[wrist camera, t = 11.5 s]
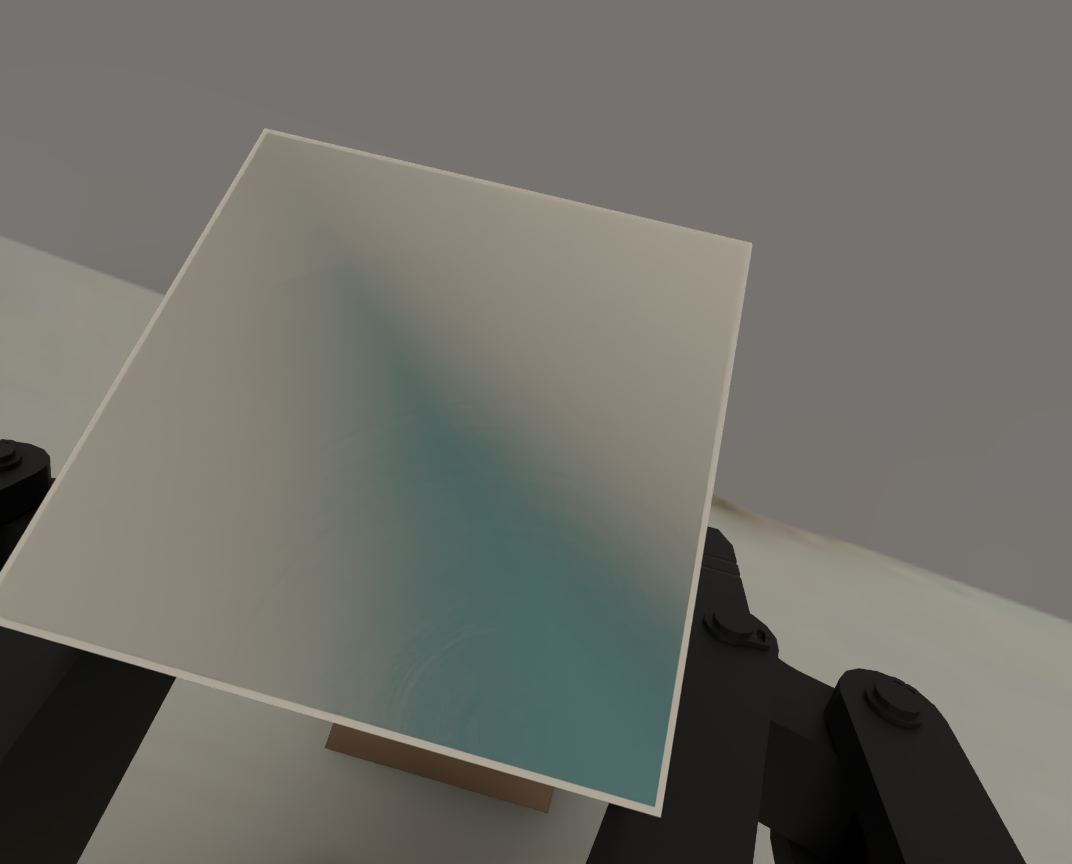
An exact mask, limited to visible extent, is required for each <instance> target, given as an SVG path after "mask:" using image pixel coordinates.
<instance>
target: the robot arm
mask: <svg viewBox="0 0 1072 864" xmlns="http://www.w3.org/2000/svg"><path fill="white" fill-rule="evenodd" d="M55 480H56V478H51V467H50V456H49V455H48V454H47V453H46V451H45V450H44V449H42V448H39V447H37V446H34V445H32V444H28V443H21V442H15V441H14V440H5V439H1V440H0V572H1V571H2V569H3V567H4V566H5V564H6V562H7V561H8V559H9V557H10V555H11V554H12V552H13V550H14V549H15V547H16V545H17V544H18V542H19V540H20V539H21V537H22V535H23V534H24V532H25V530H26V529H27V527H28V525H29V524H30V522H31V520H32V519H33V517H34V515H35V513H36V512H37V510H38V508H39V507H40V505H41V503H42V502H43V500H44V498H45V497H46V495H47V493H48V492H49V490H50V488H51V487H52V485H53V483H54V482H55ZM736 563H737V561H736V557H735V553H734V549H733V546H732V544H731V543H730V542H729V541H728V540H727V539H726V538H725V536H724V535H723V534H722V533H721V532H720V531H719V530H718V529H715V528H711V527H708V526H707V532H706V538H705V544H704V550H703V557H702V563H701V569H700V575H699V582H698V588H697V594H696V600H695V607H694V613H693V619H692V625H691V632H690V638H689V644H688V650H687V657H686V663H685V669H684V675H683V682H682V688H681V694H680V700H679V707H678V713H677V719H676V725H675V732H674V738H673V744H672V750H671V757H670V763H669V769H668V775H667V782H666V788H665V794H664V800H663V807H662V813H661V817H657V816H654V815H650V814H647V813H643V812H640V811H636V810H633V809H630V808H626V807H623V806H619V805H616V804H612V803H609V805H608V808H607V810H606V813H605V815H604V818H603V821H602V823H601V826H600V828H599V831H598V833H597V836H596V839H595V841H594V844H593V846H592V849H591V852H590V854H589V857H588V859H587V862H586V864H753V858H754V850H755V842H756V834H757V825H758V822H760V823H762V824H763V825H765V826H767V827H769V828H770V840H771V845H772V851H773V856H774V862H775V864H1026V862H1025V861H1024V859H1023V857H1022V855H1021V853H1020V852H1019V850H1018V848H1017V846H1016V844H1015V843H1014V841H1013V839H1012V837H1011V835H1010V834H1009V832H1008V830H1007V828H1006V826H1005V825H1004V823H1003V821H1002V819H1001V818H1000V816H999V814H998V812H997V810H996V809H995V807H994V805H993V803H992V801H991V800H990V798H989V796H988V794H987V792H986V791H985V789H984V787H983V785H982V783H981V782H980V780H979V778H978V776H977V774H976V773H975V771H974V769H973V767H972V765H971V764H970V762H969V760H968V758H967V756H966V755H965V753H964V751H963V749H962V748H961V746H960V744H959V742H958V740H957V739H956V737H955V735H954V733H953V731H952V730H951V728H950V726H949V724H948V722H947V721H946V719H945V718H944V717H943V716H942V714H941V713H940V712H939V710H938V709H937V708H936V707H935V705H933V704H932V703H931V702H930V701H929V700H928V699H926V698H925V697H924V696H923V695H922V694H920V693H919V691H917V690H916V689H915V688H913V687H912V686H910V685H909V684H907V685H906V684H905V682H903V681H901V680H899V679H897V678H895V677H891V676H888V675H885V674H883V673H880V672H878V671H872V670H866V669H860V668H859V669H854V670H848V671H846V672H845V673H844V674H843V675H842V676H841V678H840V679H839V681H838V683H837V685H836V687H835V688H833V687H831V686H829V685H827V684H824V683H822V682H820V681H818V680H816V679H814V678H812V677H810V676H808V675H806V674H804V673H802V672H800V671H798V670H796V669H794V668H793V667H791V666H789V665H787V664H786V663H785V662H783V661H782V660H780V659H779V658H778V653H779V649H778V644H777V639H776V638H775V636H774V635H773V634H772V632H771V631H770V630H769V628H768V627H767V626H766V625H765V624H763V623H762V622H761V621H760V620H758V619H757V618H756V617H755V616H753V615H752V614H750V612H749V608H748V604H747V600H746V596H745V592H744V588H743V584H742V580H741V578H740V572H739V568H738V565H736ZM175 679H176V677H175V676H171V675H168V674H165V673H161V672H158V671H154V670H151V669H147V668H144V667H140V666H137V665H134V664H130V663H127V662H123V661H120V660H116V659H113V658H109V657H106V656H103V655H99V654H96V653H92V652H89V651H85V650H82V649H78V648H75V647H72V646H68V645H65V644H61V643H58V642H54V641H51V640H47V639H44V638H41V637H37V636H34V635H30V634H27V633H23V632H20V631H16V630H13V629H10V628H6V627H3V626H0V864H77V862H78V860H79V858H80V857H81V855H82V853H83V851H84V849H85V847H86V845H87V843H88V842H89V840H90V838H91V836H92V834H93V832H94V830H95V828H96V827H97V825H98V823H99V821H100V819H101V817H102V815H103V813H104V812H105V810H106V808H107V806H108V804H109V802H110V800H111V798H112V797H113V795H114V793H115V791H116V789H117V787H118V785H119V783H120V782H121V780H122V778H123V776H124V774H125V772H126V770H127V768H128V767H129V765H130V763H131V761H132V759H133V757H134V755H135V754H136V752H137V750H138V748H139V746H140V744H141V742H142V740H143V739H144V737H145V735H146V733H147V731H148V729H149V727H150V725H151V724H152V722H153V720H154V718H155V716H156V714H157V712H158V710H159V709H160V707H161V705H162V703H163V701H164V699H165V697H166V695H167V694H168V692H169V690H170V688H171V686H172V684H173V682H174V680H175Z"/></svg>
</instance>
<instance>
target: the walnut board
mask: <svg viewBox="0 0 1072 864" xmlns="http://www.w3.org/2000/svg"><path fill="white" fill-rule="evenodd" d="M325 748H327V749H330V750H334V751H337V752H341V753H344V754H347V755H351V756H354V757H358V758H361V759H365V760H368V761H371V762H375V763H378V764H382V765H385V766H388V767H392V768H395V769H399V770H402V771H405V772H409V773H412V774H416V775H419V776H423V777H426V778H429V779H433V780H436V781H440V782H443V783H446V784H450V785H453V786H457V787H460V788H464V789H467V790H470V791H474V792H477V793H481V794H484V795H487V796H491V797H494V798H498V799H501V800H505V801H508V802H511V803H515V804H518V805H522V806H525V807H528V808H532V809H535V810H539V811H542V812H545V813H548V810H549V805H550V801H551V796H552V792H553V787H554V786H550V785H547V784H543V783H540V782H537V781H533V780H530V779H526V778H523V777H519V776H516V775H512V774H509V773H506V772H502V771H499V770H495V769H492V768H488V767H485V766H481V765H478V764H475V763H471V762H468V761H464V760H461V759H457V758H454V757H450V756H447V755H444V754H440V753H437V752H433V751H430V750H426V749H423V748H419V747H416V746H413V745H409V744H406V743H402V742H399V741H395V740H392V739H388V738H385V737H382V736H378V735H375V734H371V733H368V732H364V731H361V730H357V729H354V728H351V727H347V726H344V725H340V724H337V723H333V726H332V729H331V732H330V734H329V737H328V740H327V743H326V746H325Z"/></svg>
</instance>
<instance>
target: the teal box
mask: <svg viewBox="0 0 1072 864" xmlns="http://www.w3.org/2000/svg"><path fill="white" fill-rule="evenodd" d="M751 250H752V243H749V242H745V241H740V240H736V239H732V238H728V237H724V236H720V235H715V234H711V233H707V232H703V231H698V230H694V229H690V228H686V227H681V226H677V225H673V224H669V223H664V222H660V221H656V220H651V219H647V218H643V217H639V216H635V215H630V214H626V213H622V212H618V211H613V210H609V209H605V208H601V207H597V206H592V205H588V204H584V203H579V202H575V201H571V200H566V199H562V198H558V197H554V196H550V195H546V194H541V193H537V192H533V191H529V190H524V189H520V188H516V187H512V186H507V185H503V184H499V183H495V182H490V181H486V180H482V179H477V178H473V177H469V176H465V175H460V174H456V173H452V172H448V171H444V170H439V169H435V168H431V167H427V166H423V165H418V164H414V163H409V162H406V161H401V160H396V159H392V158H389V157H384V156H380V155H376V154H372V153H367V152H363V151H359V150H355V149H350V148H346V147H342V146H338V145H333V144H329V143H325V142H321V141H316V140H312V139H308V138H304V137H299V136H295V135H291V134H287V133H283V132H278V131H274V130H270V129H266V128H265V129H264V130H263V132H262V134H261V136H260V137H259V139H258V141H257V143H256V144H255V146H254V147H253V149H252V151H251V152H250V154H249V156H248V157H247V159H246V161H245V162H244V164H243V166H242V168H241V169H240V171H239V172H238V174H237V176H236V177H235V179H234V181H233V183H232V185H231V186H230V188H229V189H228V191H227V193H226V194H225V196H224V198H223V199H222V201H221V203H220V205H219V206H218V208H217V209H216V211H215V213H214V214H213V216H212V218H211V220H210V221H209V223H208V225H207V226H206V228H205V230H204V231H203V233H202V235H201V236H200V238H199V240H198V241H197V243H196V245H195V247H194V248H193V250H192V252H191V253H190V255H189V256H188V258H187V260H186V262H185V263H184V265H183V267H182V268H181V270H180V272H179V273H178V275H177V277H176V278H175V280H174V282H173V284H172V285H171V287H170V288H169V290H168V292H167V293H166V295H165V297H164V298H163V300H162V302H161V303H160V305H159V307H158V309H157V310H156V312H155V314H154V315H153V317H152V319H151V320H150V322H149V324H148V325H147V327H146V329H145V330H144V332H143V334H142V335H141V337H140V339H139V340H138V342H137V344H136V345H135V347H134V349H133V351H132V352H131V354H130V356H129V357H128V359H127V361H126V362H125V364H124V366H123V367H122V369H121V371H120V372H119V374H118V376H117V377H116V379H115V381H114V382H113V384H112V386H111V387H110V389H109V391H108V393H107V394H106V396H105V398H104V399H103V401H102V403H101V404H100V406H99V408H98V409H97V411H96V413H95V414H94V416H93V418H92V419H91V421H90V423H89V424H88V426H87V428H86V429H85V431H84V433H83V435H82V436H81V438H80V440H79V441H78V443H77V445H76V446H75V448H74V450H73V451H72V453H71V455H70V456H69V458H68V460H67V461H66V463H65V465H64V466H63V468H62V470H61V471H60V473H59V475H58V477H57V478H56V480H55V482H54V483H53V485H52V487H51V488H50V490H49V492H48V493H47V495H46V497H45V498H44V500H43V502H42V503H41V505H40V507H39V508H38V510H37V512H36V513H35V515H34V517H33V519H32V520H31V522H30V524H29V525H28V527H27V529H26V530H25V532H24V534H23V535H22V537H21V539H20V540H19V542H18V544H17V545H16V547H15V549H14V550H13V552H12V554H11V555H10V557H9V559H8V561H7V562H6V564H5V566H4V567H3V569H2V571H1V572H0V626H3V627H6V628H10V629H13V630H16V631H20V632H23V633H27V634H30V635H34V636H37V637H41V638H44V639H47V640H51V641H54V642H58V643H61V644H65V645H68V646H72V647H75V648H78V649H82V650H85V651H89V652H92V653H96V654H99V655H103V656H106V657H109V658H113V659H116V660H120V661H123V662H127V663H130V664H134V665H137V666H140V667H144V668H147V669H151V670H154V671H158V672H161V673H165V674H168V675H171V676H175V677H178V678H182V679H185V680H189V681H192V682H196V683H199V684H202V685H206V686H209V687H213V688H216V689H220V690H223V691H227V692H230V693H233V694H237V695H240V696H244V697H247V698H251V699H254V700H258V701H261V702H264V703H268V704H271V705H275V706H278V707H282V708H285V709H289V710H292V711H295V712H299V713H302V714H306V715H309V716H313V717H316V718H320V719H323V720H326V721H330V722H333V723H337V724H340V725H344V726H347V727H351V728H354V729H357V730H361V731H364V732H368V733H371V734H375V735H378V736H382V737H385V738H388V739H392V740H395V741H399V742H402V743H406V744H409V745H413V746H416V747H419V748H423V749H426V750H430V751H433V752H437V753H440V754H444V755H447V756H450V757H454V758H457V759H461V760H464V761H468V762H471V763H475V764H478V765H481V766H485V767H488V768H492V769H495V770H499V771H502V772H506V773H509V774H512V775H516V776H519V777H523V778H526V779H530V780H533V781H537V782H540V783H543V784H547V785H550V786H554V787H557V788H561V789H564V790H568V791H571V792H574V793H578V794H581V795H585V796H588V797H592V798H595V799H599V800H602V801H605V802H609V803H612V804H616V805H619V806H623V807H626V808H630V809H633V810H636V811H640V812H643V813H647V814H650V815H654V816H657V817H661V813H662V807H663V800H664V794H665V788H666V782H667V775H668V769H669V763H670V757H671V750H672V744H673V738H674V732H675V725H676V719H677V713H678V707H679V700H680V694H681V688H682V682H683V675H684V669H685V663H686V657H687V650H688V644H689V638H690V632H691V625H692V619H693V613H694V607H695V600H696V594H697V588H698V582H699V575H700V569H701V563H702V557H703V550H704V544H705V538H706V532H707V525H708V519H709V513H710V507H711V500H712V494H713V488H714V482H715V475H716V469H717V463H718V457H719V450H720V444H721V438H722V432H723V425H724V419H725V413H726V407H727V400H728V394H729V387H730V382H731V375H732V369H733V363H734V356H735V350H736V344H737V338H738V332H739V325H740V319H741V313H742V306H743V300H744V294H745V287H746V282H747V275H748V269H749V262H750V256H751Z"/></svg>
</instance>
